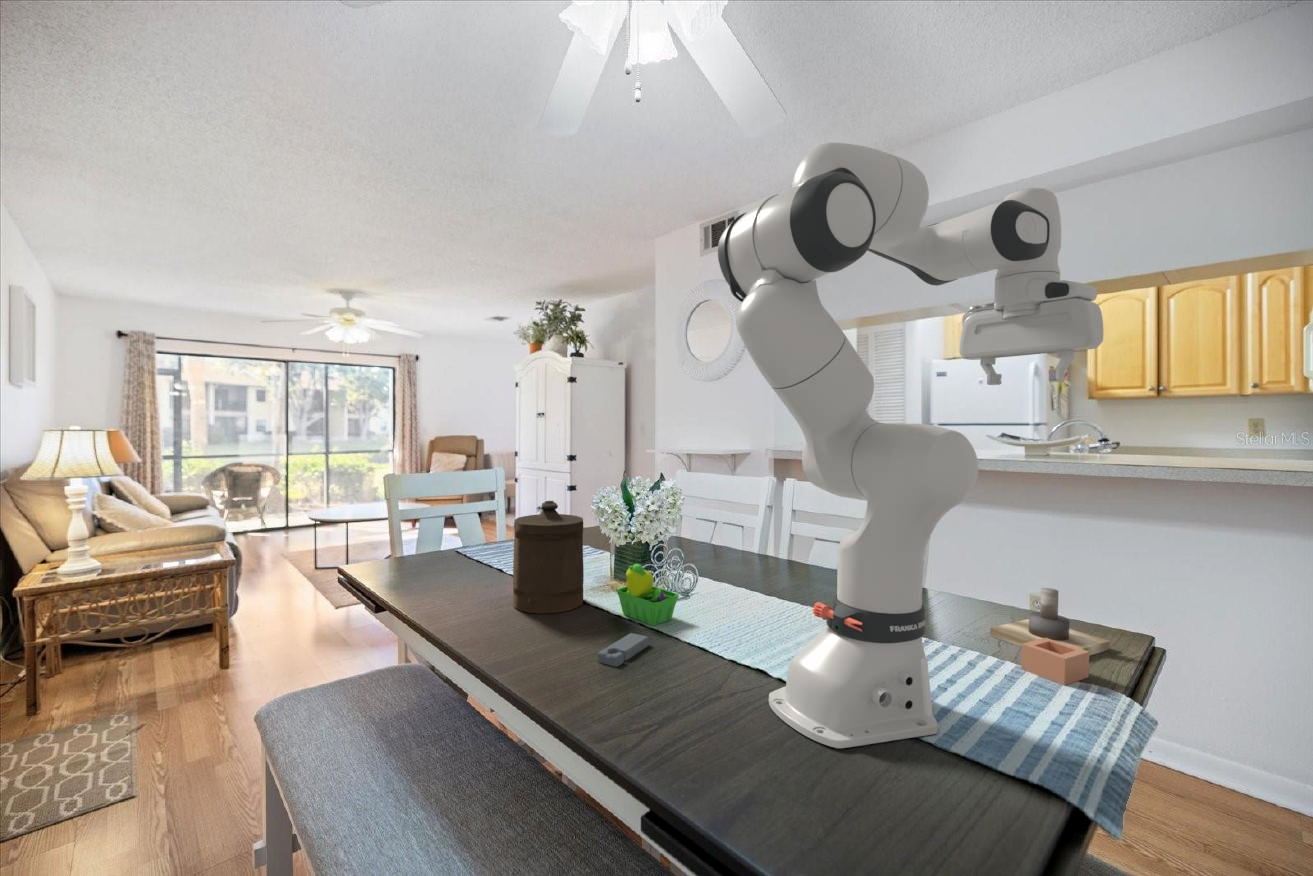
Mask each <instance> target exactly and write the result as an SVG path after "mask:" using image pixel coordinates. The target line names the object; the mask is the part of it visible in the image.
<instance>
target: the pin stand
mask: <svg viewBox="0 0 1313 876" xmlns="http://www.w3.org/2000/svg"><path fill="white" fill-rule="evenodd" d="M1039 603H1040V606H1039V608H1040V609H1039V610H1040V611H1034V612H1030V613H1029V614H1028V618H1027V619H1023V620H1018V621H1013V622H1009V623H1005V624H1001V625H996V626H993V627H990V629H989V630H990V631H989V633H990V634H989V635H990V637H992V638H995V639H999V640H1001V641H1004V642H1007V643H1010V644H1013V645H1015V646H1018V647H1021V648H1022V644H1023V643H1027V642H1031V641H1035V640H1039V639H1042V638H1048V639H1052V640H1055V641H1058V642H1061V643H1064V644H1067V645H1070V646H1073V647H1076V648H1079V649H1082V650H1085V651H1088V652H1089V657H1090V656H1093V655H1097V654H1099V653H1103V652H1106V651H1109V650H1111V641H1110V640H1108V639H1105V638H1102V637H1098V636H1094V635H1092V634H1088V633H1085V632H1081V631H1077V630H1075V629H1072V628H1070V620H1069V618H1067V617H1065V616H1063V615H1059V590H1057V589H1055V588H1051V587H1050V588H1049V587H1041V588H1040V602H1039Z"/></svg>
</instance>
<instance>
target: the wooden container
mask: <svg viewBox="0 0 1313 876" xmlns="http://www.w3.org/2000/svg"><path fill="white" fill-rule="evenodd" d="M540 507H541V509H542V511H541V512H540V513H539V514H531V515H529V514H528V515H523V516H520V517H516V518H515V519H514V527H513V529H514V535H513V536H514V537H513V563H512V566H513V568H512V574H513V575H512V589H513V591H512V596H513V597H512V606H513V607H514V608H515V609H516V610H518V611H522V612H524V613H529V614H539V615H541V614H543V615H545V614H549V615H550V614H557V613H564V612H567V611H568V612H569V611H572V610H574V609H577V608H578V607H579V608H580V606H582V605H583V603H584V572H585V571H584V544H583V543H584V539H583V534H584V519H583V517H581V516H578V515H573V514H562V513H559V512H558V511H557V509H558V508H559V506H558V504H557V502H555V501H554V500H546V501H544V502H542V503H541V506H540Z"/></svg>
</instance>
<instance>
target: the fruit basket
mask: <svg viewBox="0 0 1313 876" xmlns="http://www.w3.org/2000/svg"><path fill="white" fill-rule="evenodd" d="M625 573H626V574H625V576H626V586H623V587H619V588H617V589H616V593H617V595H618V599H619V603H620V606H621V611H622V614H623V615H624V616H628V617H630V618H632V619H636V620H638V621H641V622H643V623H647V624H648V625H650V626H655V625H659V624H662V623H664V622H667V621H671V620H672V619H673V615H674V611H675V607H676V604H677V601H678V599H679V596H680V594H679V593H676V592H672V591H669V590H667V589H665V588H664V589H663V588H660V587H657V586H653V584H654V580H655V577H654V576H653V574H652V573H650V572H649V571H648V570H646V569H644V567H643V566H642V564H639V563H634V564H633V565H629V567H628V569H627V570H626V572H625Z"/></svg>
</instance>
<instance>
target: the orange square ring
mask: <svg viewBox="0 0 1313 876" xmlns="http://www.w3.org/2000/svg"><path fill="white" fill-rule="evenodd" d="M1020 657H1021V659H1020V660H1021V661H1020V669H1022V670H1024V671H1026V672H1029V673H1032V674H1034V675H1036V676H1039V677H1042V678H1045V679H1047V680H1050V681H1052V682H1055V683H1057V684H1060V685H1063V686H1067V685H1069V684H1072V683H1075V682H1079V681H1081V680H1084V679H1087V678H1089V676H1090V674H1089V672H1090V670H1089V669H1090V656H1089V652H1088V651H1085V650H1082V649H1079V648H1076V647H1073V646H1070V645H1067V644H1064V643H1061V642H1058V641H1055V640H1052V639H1048V638H1042V639H1039V640H1035V641H1031V642H1027V643H1023V644H1022V647H1021V656H1020Z"/></svg>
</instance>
